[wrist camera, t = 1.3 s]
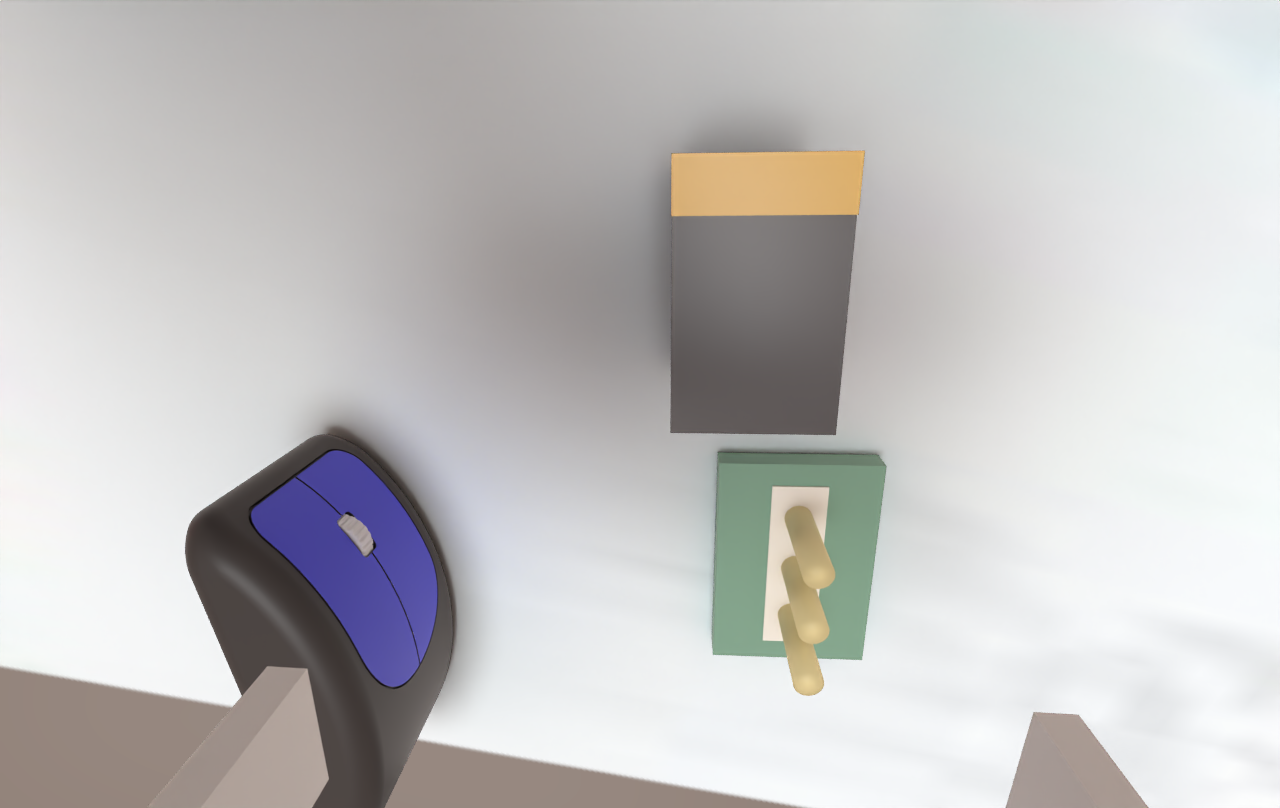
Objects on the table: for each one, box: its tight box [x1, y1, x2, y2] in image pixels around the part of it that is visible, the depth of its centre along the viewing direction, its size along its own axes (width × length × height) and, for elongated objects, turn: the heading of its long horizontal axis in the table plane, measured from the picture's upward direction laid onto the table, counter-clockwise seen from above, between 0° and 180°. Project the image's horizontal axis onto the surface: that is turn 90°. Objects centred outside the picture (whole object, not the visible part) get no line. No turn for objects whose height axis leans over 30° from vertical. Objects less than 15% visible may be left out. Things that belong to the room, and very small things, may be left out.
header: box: [712, 452, 886, 696], centre depth 27 cm, size 10×7×6 cm
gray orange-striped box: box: [671, 151, 865, 435], centre depth 22 cm, size 8×5×8 cm, turn 1°
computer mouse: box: [185, 435, 453, 808], centre depth 27 cm, size 16×5×9 cm, turn 8°
